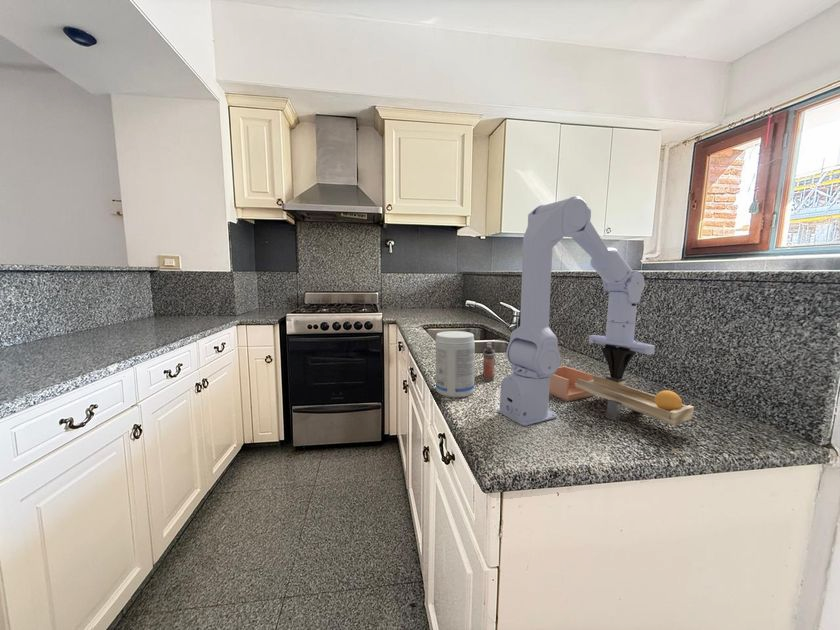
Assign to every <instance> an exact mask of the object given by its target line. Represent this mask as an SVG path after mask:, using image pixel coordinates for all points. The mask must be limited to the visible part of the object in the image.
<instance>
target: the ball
mask: <svg viewBox="0 0 840 630" xmlns="http://www.w3.org/2000/svg"><path fill="white" fill-rule="evenodd" d="M655 403H656V405H657V407H659V408H661V409H664V410H667V411H672V410H675V409H678V408H681V406H682V405H683V402H682V399H681V397H680V396H679V394H678V393H676V392H674V391H672V390H667V389H665V390H661V391H659V392H658V393H656V396H655Z"/></svg>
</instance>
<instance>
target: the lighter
mask: <svg viewBox="0 0 840 630" xmlns="http://www.w3.org/2000/svg"><path fill="white" fill-rule="evenodd" d="M493 348H494V347H493V343H492V342H491V341H487V342H486V344H485V348H483V350H482V356H483V364H482V366H483V367H482V369H483V371H482V377H483V378H482V380H483V379H484V380H485V381H484V380H483V381H484V382H487V381H492V382H494V380H495V365H496V357H495V356H496V351H495V349H493Z"/></svg>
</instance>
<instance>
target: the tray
mask: <svg viewBox="0 0 840 630" xmlns="http://www.w3.org/2000/svg"><path fill="white" fill-rule="evenodd" d="M594 376H595V374H592V373H589V372H585V371H582V370H579V369H576V368H572V367H568V366H565V365H562V366H559V367H558V369H557V371H556V372H555V373H554V374H553V376H551V377H550V386H549V395H551V396H553V397H557V398H558V399H561V400H564V401H566V402H571V401H572V402H573V401H576V400H580V399H581V400H582V399H586V398H588V397H593V396H596V395H595V394H592V393H590V392H587V391H585V390H582V389H579V388H577V387H575V383H577V379H581V380H584V381H590V380H594Z"/></svg>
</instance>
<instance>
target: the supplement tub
mask: <svg viewBox="0 0 840 630" xmlns="http://www.w3.org/2000/svg"><path fill="white" fill-rule="evenodd" d="M475 346H476V345H475V335H474V334H473V333H472V332H470V331H469V332H468V331H463V330H462V331H461V330H460V331H459V330H454V331H453V330H451V331H450V330H448V331H440V332H437V333H436V335H435V390H436V392H437V393H438V394H440V395H441V396H443V397H448V398H452V399H453V398H455V399H456V398H465V397H468V396H470V395H472V394H473V393H474V391H475V351H476V347H475Z"/></svg>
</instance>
